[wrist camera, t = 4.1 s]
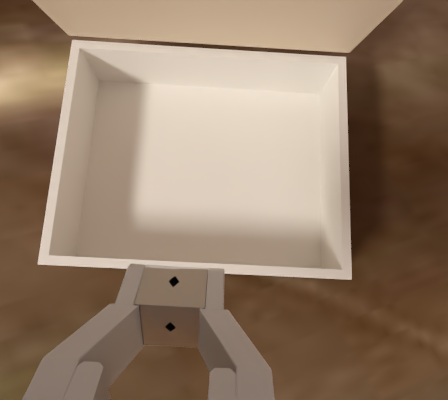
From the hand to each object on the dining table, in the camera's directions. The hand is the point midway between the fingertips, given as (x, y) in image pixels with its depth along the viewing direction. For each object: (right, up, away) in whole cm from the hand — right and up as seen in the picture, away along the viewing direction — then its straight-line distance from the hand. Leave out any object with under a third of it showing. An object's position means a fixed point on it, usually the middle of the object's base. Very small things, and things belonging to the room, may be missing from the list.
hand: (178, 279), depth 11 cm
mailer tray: (0, +5, +17) cm, 18 cm away
